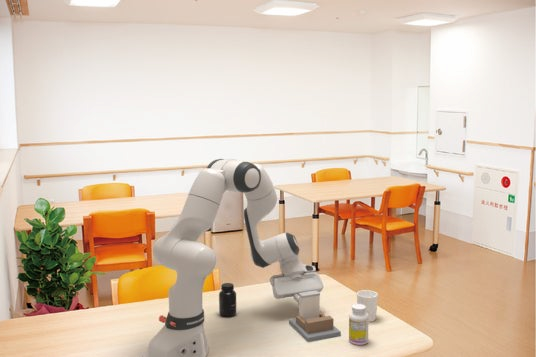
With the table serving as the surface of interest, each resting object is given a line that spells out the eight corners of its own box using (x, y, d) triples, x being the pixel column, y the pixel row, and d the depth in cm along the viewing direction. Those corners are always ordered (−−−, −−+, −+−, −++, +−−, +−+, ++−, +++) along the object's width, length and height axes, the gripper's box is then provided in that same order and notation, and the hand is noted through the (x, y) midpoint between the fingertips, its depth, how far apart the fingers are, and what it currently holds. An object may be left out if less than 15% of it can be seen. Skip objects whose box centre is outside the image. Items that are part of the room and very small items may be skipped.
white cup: (353, 320, 204) (354, 295, 203) (360, 313, 211) (360, 288, 209) (373, 324, 200) (374, 298, 199) (379, 316, 207) (380, 291, 206)
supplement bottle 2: (355, 335, 192) (355, 301, 190) (371, 340, 187) (372, 305, 185) (345, 342, 186) (345, 307, 184) (362, 347, 182) (362, 311, 180)
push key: (319, 320, 200) (320, 293, 199) (302, 323, 198) (302, 296, 196) (316, 317, 203) (316, 290, 202) (298, 320, 201) (298, 293, 199)
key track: (340, 335, 191) (340, 321, 191) (307, 341, 187) (307, 327, 186) (320, 318, 207) (320, 304, 206) (289, 323, 202) (289, 309, 201)
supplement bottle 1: (236, 317, 208) (235, 287, 206) (218, 317, 208) (217, 288, 206) (237, 310, 215) (236, 281, 213) (220, 310, 215) (219, 281, 213)
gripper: (270, 272, 206) (280, 305, 198) (318, 265, 213) (329, 297, 206) (266, 279, 211) (275, 312, 203) (313, 273, 218) (324, 304, 210)
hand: (303, 305), depth 205 cm, fingers closed
